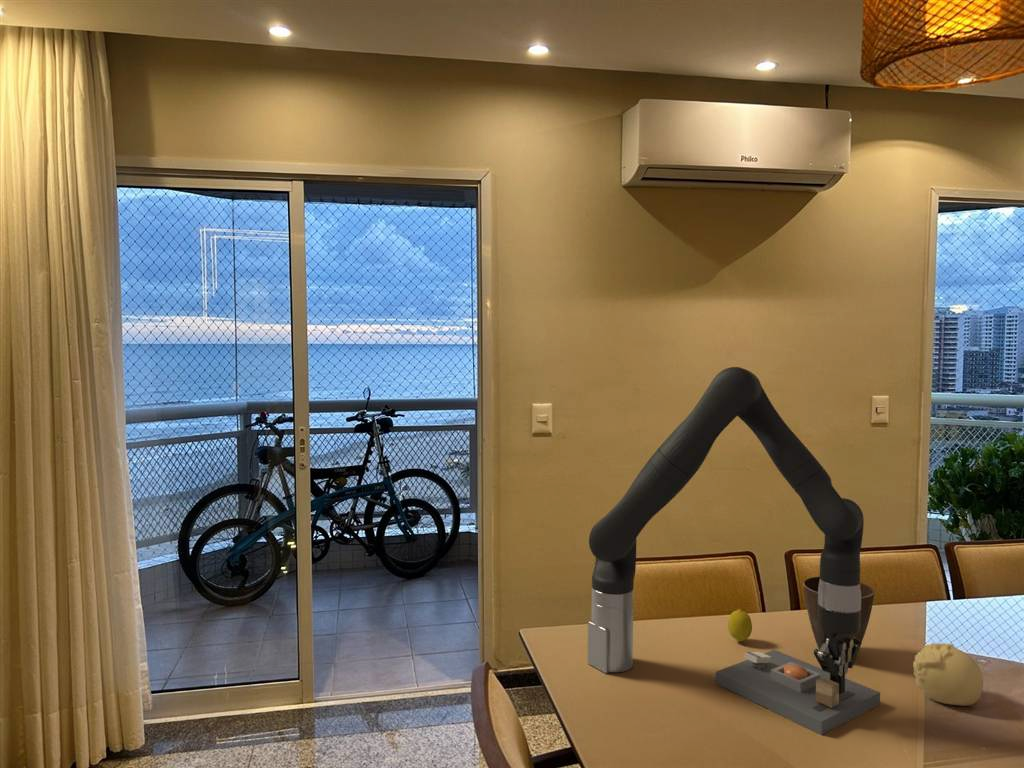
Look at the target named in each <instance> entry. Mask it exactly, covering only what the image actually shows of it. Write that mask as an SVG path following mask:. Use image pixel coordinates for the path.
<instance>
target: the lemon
mask: <svg viewBox="0 0 1024 768" xmlns="http://www.w3.org/2000/svg"><path fill="white" fill-rule="evenodd" d="M727 629H728V632H729V635H730V636H731V637H732V638H733V639H735V640H736V641H737V643H742V642H743V641H745V640H747V639H749V638H750V636H751V634H752V630H753V623H752V619H751V617H750V615H749V614H748V613H747V612H746V611H744V610H742V609H741V608H738V610H737V609H736V610H734V611H733V612H731V614H730V615H729V617H728V621H727Z"/></svg>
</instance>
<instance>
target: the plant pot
mask: <svg viewBox="0 0 1024 768" xmlns="http://www.w3.org/2000/svg"><path fill="white" fill-rule="evenodd" d="M819 581H820V576H813V577H809V578H805V579H804V581H803V582H802V585H803V592H804V593H803V594H804V599H805V604H806V611H807V615H808V618H809V619H808V620H809V624H810V626H811V630H812V633H813V636H814V640H815V643H816V645H817V648H818V650H820V648H821V647H822V645H823V644H822V637H823V630H822V628H821V627H820V626H819V625H818V622H817V618H818V587H819ZM860 590H861V627H860V631H859V632H858V633H856V634H855V638H856V639H859V640H861V641H862V642H863V640H864V636H865V635H866V631H867V629H868V625H869V623H870V622H869V621H870V618H871V615H872V609H873V603H874V599H875V590H874V588H873V587H872V586H870V585H868V584H866V583H864V582H861V581H860Z"/></svg>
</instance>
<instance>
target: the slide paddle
mask: <svg viewBox="0 0 1024 768" xmlns="http://www.w3.org/2000/svg"><path fill="white" fill-rule="evenodd" d="M816 701H817V702H819V703H822V704H824V705H826V706H828V707H831V708H832V707H834V706H836V705H838V704H839V683H836V682H834V681H832V680H829V679H827V678H824V677H823V678H820V679H818V680H816Z"/></svg>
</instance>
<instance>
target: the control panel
mask: <svg viewBox="0 0 1024 768" xmlns="http://www.w3.org/2000/svg"><path fill="white" fill-rule="evenodd" d="M763 654H766V655H768V656H770V657H771V663H754V662H752V661H750V660H747V659H745V660H743V661H741V662H738V663H735V664H732V665H730V666H727V667H724V668H722V669H720V670H719V669H718V670H716V671H715V684H716V685H718V686H720V685H721V686H720V687H722V686H723V687H722V688H724V687H725V689H726V688H727V689H726V690H728V689H729V691H730V690H731V691H730V692H732V691H733V692H732V693H735V694H736V693H737V694H736V695H738V694H739V696H740V695H741V696H740V697H742V698H745V699H747V700H749V701H750V702H753V703H754V704H757V705H759V704H760V705H759V706H761V705H762V706H761V707H763V706H764V707H763V708H765V707H766V708H765V709H767V708H768V710H769V709H770V710H769V711H771V712H773V711H774V712H773V713H775V714H777V713H778V716H779V715H780V716H781V717H784V718H785V719H787V720H789V721H791V722H794V723H796V724H798V725H799V726H802V727H804V728H806V729H808V730H810V731H812V732H814V733H816V732H817V734H818V735H820V734H821V735H822V736H823V735H824V734H826V733H828V732H830V731H832V730H834V729H836V728H837V726H838V727H840V726H841V724H842V725H844V724H845V723H844V722H846V721H848V720H849V721H851V720H853V719H855V718H857V717H859V716H861V715H863V714H865V713H867V712H868V711H871V710H873V709H874V708H877V707H879V706H880V705H881V692H880V691H878V690H875V689H873V688H871V687H868V686H866V685H863V684H861V683H858V682H856V681H853V680H850V679H847V678H846V677H845V692H844V693H842V694H840V695H839V704H838V705H836V706H834V707H832V708H831V707H828V706H826V705H824V704H822V703H819V702H817V701H816V680H818V679H820V678H823V677H824V678H827V679H829V680H830V673H828V672H825V671H823V670H822V668H821V667H819V666H816V665H813V664H811V663H809V662H806V661H803V660H801V659H798V658H796V657H794V656H791V655H790V654H789V655H788V654H786V653H784V652H780V651H779V650H776V649H773V650H770V651H767V652H765V653H763ZM786 665H798V666H801V667H803V668H805V669H806V670H807V677H806V678H804V679H801V680H798V679H795V678H793V677H791V676H788V675H786V674H784V667H785V666H786ZM878 705H879V706H878ZM876 706H877V707H876ZM870 709H871V710H870ZM866 711H867V712H866ZM864 712H865V713H864ZM862 713H863V714H862ZM860 714H861V715H860ZM858 715H859V716H858ZM850 719H851V720H850ZM849 721H848V722H849ZM843 723H844V724H843ZM846 723H847V722H846ZM839 725H840V726H839ZM835 727H836V728H835ZM833 728H834V729H833ZM831 729H832V730H831ZM829 730H830V731H829ZM821 735H820V736H821Z"/></svg>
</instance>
